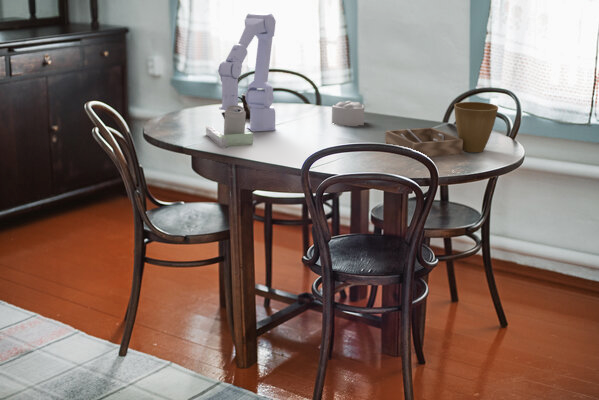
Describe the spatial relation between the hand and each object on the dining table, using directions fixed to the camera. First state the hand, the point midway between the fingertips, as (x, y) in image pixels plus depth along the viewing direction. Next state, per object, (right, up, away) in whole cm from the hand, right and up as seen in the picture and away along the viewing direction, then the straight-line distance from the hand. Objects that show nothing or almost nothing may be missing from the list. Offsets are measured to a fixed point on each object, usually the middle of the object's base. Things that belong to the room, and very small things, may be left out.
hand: (230, 131), depth 279 cm
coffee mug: (+5, +9, +38) cm, 39 cm away
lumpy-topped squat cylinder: (+45, +6, +30) cm, 55 cm away
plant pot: (+86, -8, -11) cm, 88 cm away
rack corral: (+69, -7, -11) cm, 70 cm away
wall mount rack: (+69, -7, -9) cm, 70 cm away
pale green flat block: (+1, -3, -1) cm, 3 cm away
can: (+2, -3, -2) cm, 4 cm away
